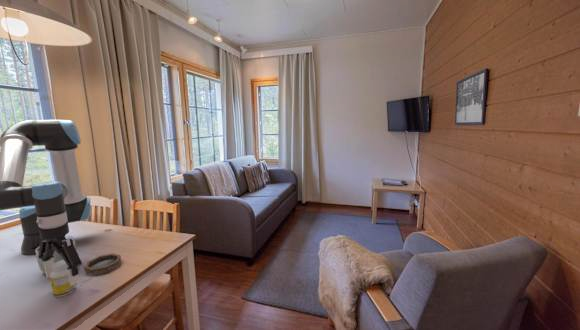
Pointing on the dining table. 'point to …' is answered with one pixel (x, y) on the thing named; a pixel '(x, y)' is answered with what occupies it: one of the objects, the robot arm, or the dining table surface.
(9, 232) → the dining table surface
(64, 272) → the pill bottle
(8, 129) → the robot arm
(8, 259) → the dining table surface
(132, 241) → the dining table surface
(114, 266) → the holder
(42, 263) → the planter
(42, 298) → the dining table surface
